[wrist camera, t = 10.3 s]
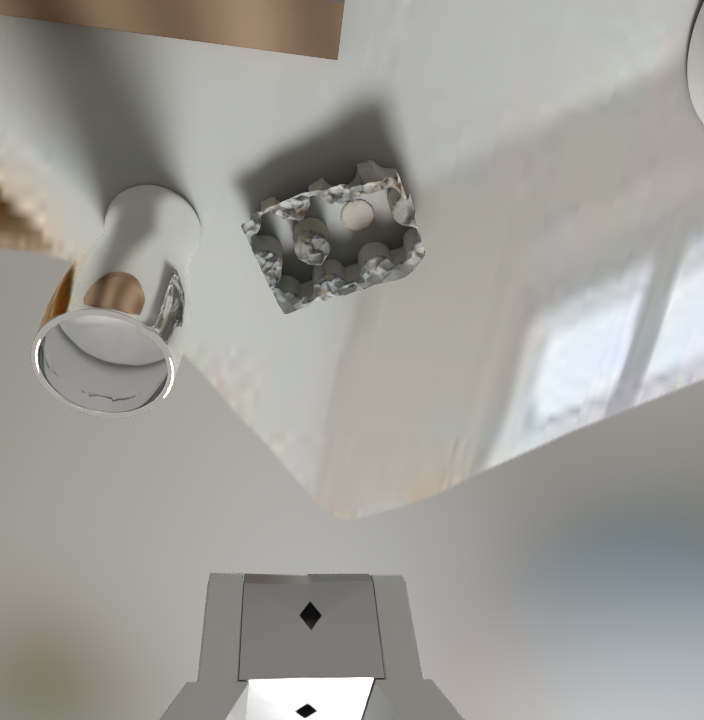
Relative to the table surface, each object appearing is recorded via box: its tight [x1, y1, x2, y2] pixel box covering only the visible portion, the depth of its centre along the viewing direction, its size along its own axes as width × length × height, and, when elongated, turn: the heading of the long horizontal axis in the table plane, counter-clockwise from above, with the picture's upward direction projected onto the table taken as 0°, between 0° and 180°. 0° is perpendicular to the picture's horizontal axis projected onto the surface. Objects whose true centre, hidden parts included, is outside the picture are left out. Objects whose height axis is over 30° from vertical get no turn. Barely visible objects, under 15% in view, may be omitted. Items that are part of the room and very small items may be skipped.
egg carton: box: [241, 160, 425, 314], centre depth 42 cm, size 11×8×4 cm
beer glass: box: [30, 185, 201, 418], centre depth 37 cm, size 7×7×15 cm
